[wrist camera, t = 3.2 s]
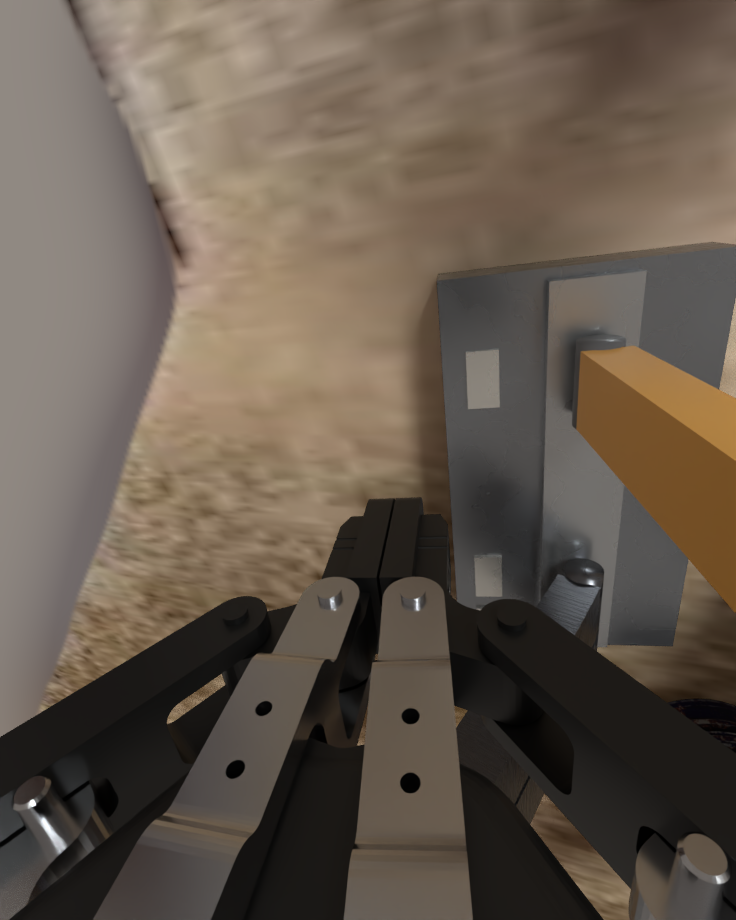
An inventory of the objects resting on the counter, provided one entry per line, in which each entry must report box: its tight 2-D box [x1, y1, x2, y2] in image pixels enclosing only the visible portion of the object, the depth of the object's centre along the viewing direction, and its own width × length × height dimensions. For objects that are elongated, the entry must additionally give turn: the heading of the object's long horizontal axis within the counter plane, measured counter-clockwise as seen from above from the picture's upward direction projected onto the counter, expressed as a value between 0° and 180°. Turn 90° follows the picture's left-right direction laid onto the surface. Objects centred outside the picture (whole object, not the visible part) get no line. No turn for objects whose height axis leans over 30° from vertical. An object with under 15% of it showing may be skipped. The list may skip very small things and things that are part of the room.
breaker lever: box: [572, 334, 736, 613], centre depth 17 cm, size 4×2×15 cm, turn 7°
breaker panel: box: [437, 242, 736, 824], centre depth 22 cm, size 24×14×18 cm, turn 7°
